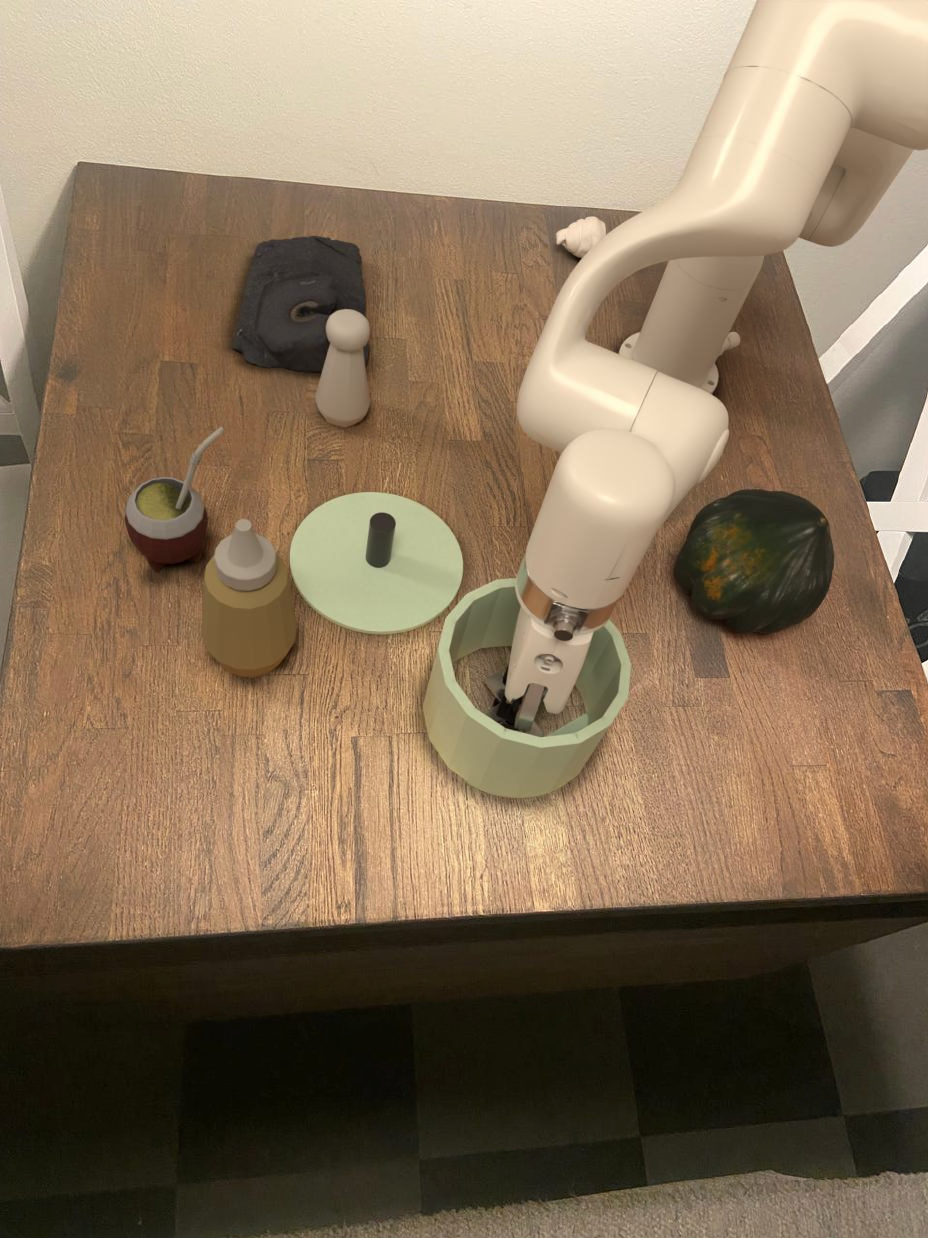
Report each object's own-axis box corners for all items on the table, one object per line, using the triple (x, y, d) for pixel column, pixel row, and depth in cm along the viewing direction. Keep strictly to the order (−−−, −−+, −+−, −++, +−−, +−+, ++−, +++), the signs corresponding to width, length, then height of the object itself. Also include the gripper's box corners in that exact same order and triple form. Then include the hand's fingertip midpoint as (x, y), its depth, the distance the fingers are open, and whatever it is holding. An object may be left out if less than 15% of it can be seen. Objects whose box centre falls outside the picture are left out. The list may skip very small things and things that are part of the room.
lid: (404, 478, 96) (411, 433, 91) (494, 595, 90) (508, 554, 84) (258, 535, 89) (256, 489, 84) (345, 666, 83) (349, 626, 77)
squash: (643, 503, 92) (745, 503, 79) (758, 477, 98) (872, 474, 84) (659, 638, 95) (760, 661, 82) (771, 606, 101) (883, 623, 87)
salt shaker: (360, 441, 98) (369, 345, 87) (308, 427, 98) (311, 330, 87) (374, 404, 101) (384, 308, 91) (323, 391, 101) (328, 293, 91)
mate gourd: (118, 566, 85) (90, 454, 72) (164, 508, 89) (145, 393, 77) (190, 597, 84) (174, 489, 72) (233, 537, 88) (225, 426, 76)
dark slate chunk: (376, 260, 115) (380, 226, 111) (366, 381, 103) (369, 348, 99) (253, 242, 113) (252, 207, 109) (228, 364, 101) (225, 329, 97)
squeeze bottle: (257, 707, 79) (251, 588, 64) (184, 658, 81) (162, 530, 66) (314, 644, 84) (321, 519, 69) (244, 598, 85) (236, 466, 70)
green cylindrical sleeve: (528, 617, 89) (554, 551, 80) (629, 745, 83) (669, 690, 74) (390, 686, 82) (402, 623, 74) (488, 831, 76) (514, 781, 68)
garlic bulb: (548, 241, 124) (558, 204, 119) (590, 244, 125) (602, 208, 120) (554, 267, 121) (565, 230, 116) (598, 270, 122) (610, 233, 117)
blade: (518, 667, 85) (538, 621, 79) (563, 726, 82) (587, 683, 76) (456, 700, 82) (471, 654, 76) (501, 762, 80) (520, 721, 73)
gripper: (610, 689, 61) (545, 796, 76) (630, 510, 70) (568, 637, 85) (501, 661, 61) (457, 774, 76) (535, 485, 70) (490, 617, 85)
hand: (516, 700), depth 80 cm, fingers closed
